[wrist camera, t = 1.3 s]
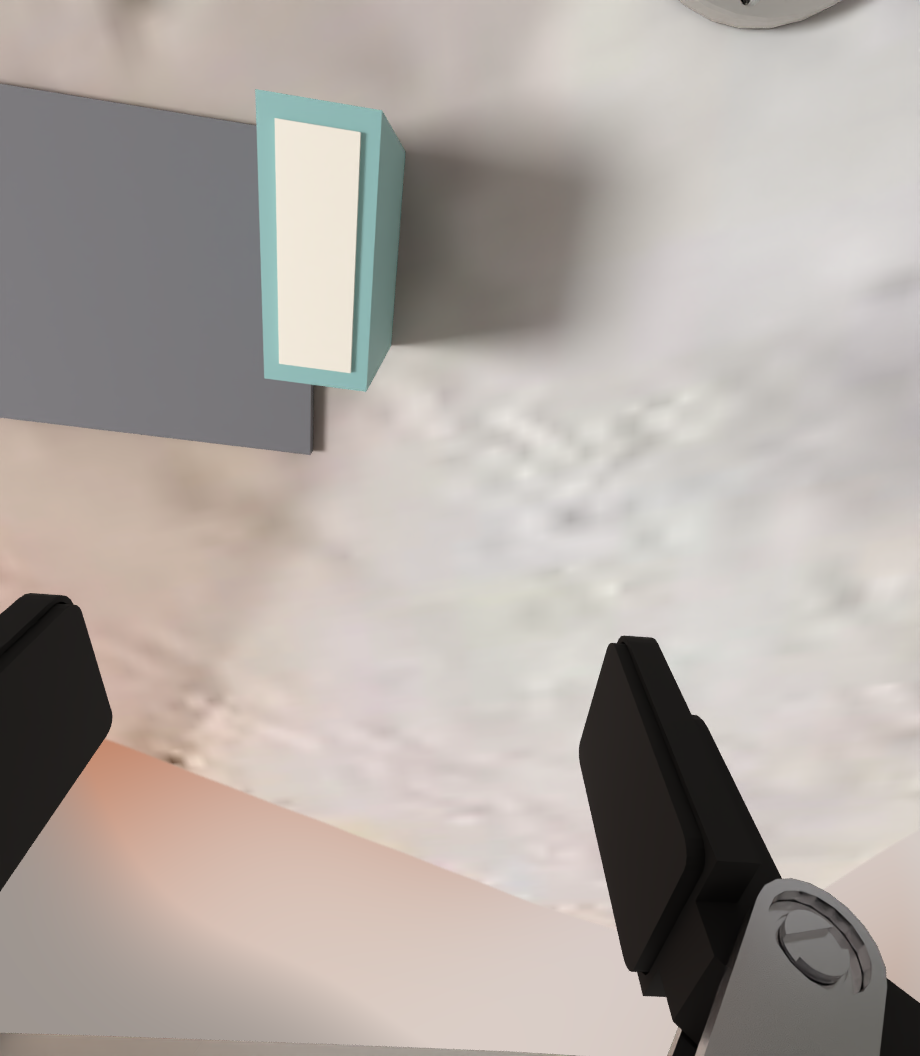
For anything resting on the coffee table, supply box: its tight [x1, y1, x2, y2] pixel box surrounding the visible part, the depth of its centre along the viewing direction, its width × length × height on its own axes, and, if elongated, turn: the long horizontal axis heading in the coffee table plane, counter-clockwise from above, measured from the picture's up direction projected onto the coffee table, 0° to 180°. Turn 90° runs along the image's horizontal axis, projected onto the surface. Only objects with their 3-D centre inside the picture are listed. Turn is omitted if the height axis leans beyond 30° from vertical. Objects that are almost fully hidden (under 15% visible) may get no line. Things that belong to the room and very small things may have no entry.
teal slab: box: [255, 89, 405, 392], centre depth 21 cm, size 8×4×9 cm, turn 172°
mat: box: [0, 84, 313, 455], centre depth 25 cm, size 14×18×1 cm
